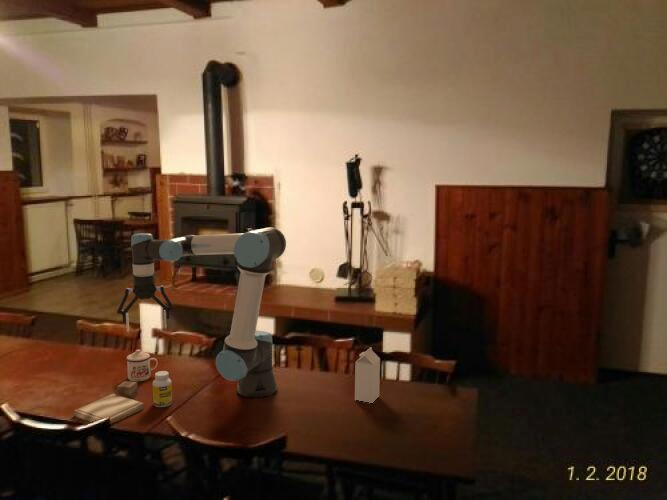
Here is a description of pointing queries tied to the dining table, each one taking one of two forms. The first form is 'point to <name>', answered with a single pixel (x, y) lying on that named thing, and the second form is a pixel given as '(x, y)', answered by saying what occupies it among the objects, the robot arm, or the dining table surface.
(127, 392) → the walnut cube
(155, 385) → the pill bottle
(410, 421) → the dining table surface
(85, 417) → the beech board
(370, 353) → the milk carton
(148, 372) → the teacup with lid
